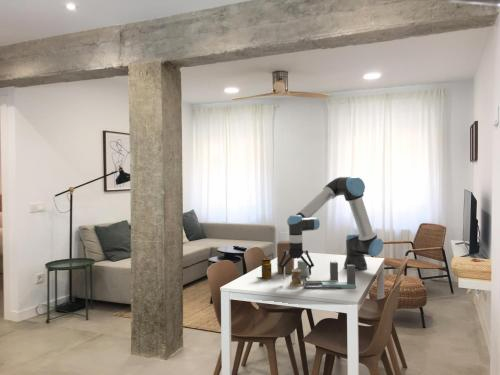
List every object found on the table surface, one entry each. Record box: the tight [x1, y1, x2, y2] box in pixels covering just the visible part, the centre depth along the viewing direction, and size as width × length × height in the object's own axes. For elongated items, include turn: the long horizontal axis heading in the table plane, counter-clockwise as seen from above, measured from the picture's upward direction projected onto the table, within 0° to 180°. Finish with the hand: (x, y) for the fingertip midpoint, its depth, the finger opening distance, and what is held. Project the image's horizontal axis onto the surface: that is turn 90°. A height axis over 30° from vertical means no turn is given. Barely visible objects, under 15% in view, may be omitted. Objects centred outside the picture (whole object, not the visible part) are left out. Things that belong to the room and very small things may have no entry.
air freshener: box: [294, 259, 312, 279], centre depth 258 cm, size 11×8×10 cm
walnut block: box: [291, 269, 302, 284], centre depth 240 cm, size 5×5×7 cm
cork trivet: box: [290, 280, 304, 287], centre depth 240 cm, size 7×7×1 cm
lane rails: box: [302, 278, 342, 290], centre depth 238 cm, size 20×18×1 cm
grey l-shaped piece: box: [321, 265, 357, 289], centre depth 233 cm, size 18×6×12 cm, turn 86°
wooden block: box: [276, 240, 295, 275], centre depth 271 cm, size 10×10×20 cm
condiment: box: [256, 257, 275, 281], centre depth 256 cm, size 7×8×12 cm
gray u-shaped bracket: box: [305, 261, 339, 283], centre depth 243 cm, size 18×6×12 cm, turn 86°
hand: (296, 278), depth 240 cm, fingers open, 13 cm apart
